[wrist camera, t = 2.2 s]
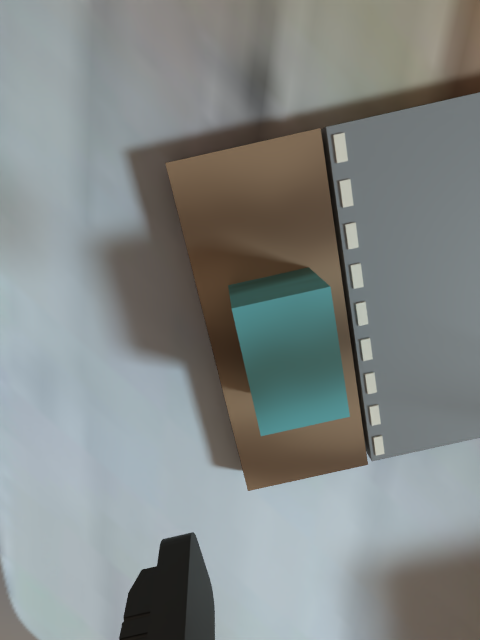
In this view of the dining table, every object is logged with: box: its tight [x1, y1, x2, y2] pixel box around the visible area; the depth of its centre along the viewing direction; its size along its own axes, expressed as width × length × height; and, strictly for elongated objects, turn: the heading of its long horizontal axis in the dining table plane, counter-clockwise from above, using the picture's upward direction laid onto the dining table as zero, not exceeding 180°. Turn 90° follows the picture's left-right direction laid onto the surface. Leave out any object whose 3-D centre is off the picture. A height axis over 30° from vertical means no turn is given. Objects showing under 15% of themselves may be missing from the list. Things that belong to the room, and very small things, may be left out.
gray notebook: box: [321, 92, 480, 461], centre depth 22 cm, size 18×11×2 cm, turn 12°
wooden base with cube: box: [165, 128, 368, 491], centre depth 21 cm, size 18×7×6 cm, turn 12°
